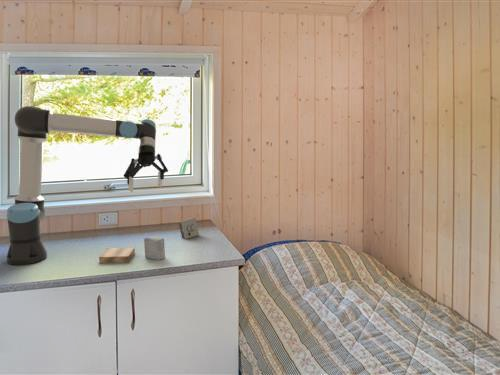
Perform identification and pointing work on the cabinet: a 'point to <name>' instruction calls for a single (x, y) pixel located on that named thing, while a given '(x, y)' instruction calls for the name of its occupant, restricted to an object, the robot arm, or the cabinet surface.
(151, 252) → the grey curved block
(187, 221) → the electrical switch
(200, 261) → the cabinet surface
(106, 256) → the plinth
